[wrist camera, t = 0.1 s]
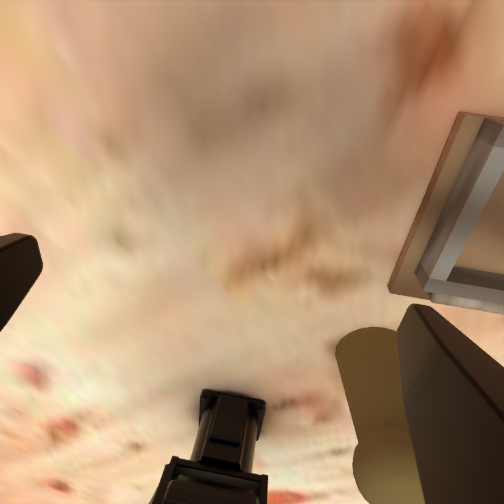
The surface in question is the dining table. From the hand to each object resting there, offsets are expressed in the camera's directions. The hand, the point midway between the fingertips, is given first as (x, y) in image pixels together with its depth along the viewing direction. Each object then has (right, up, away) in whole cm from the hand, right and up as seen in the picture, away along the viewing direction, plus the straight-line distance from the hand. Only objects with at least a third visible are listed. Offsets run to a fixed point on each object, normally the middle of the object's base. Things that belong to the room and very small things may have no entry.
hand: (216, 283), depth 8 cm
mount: (+17, +2, +13) cm, 21 cm away
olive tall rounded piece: (+11, -8, +21) cm, 24 cm away
